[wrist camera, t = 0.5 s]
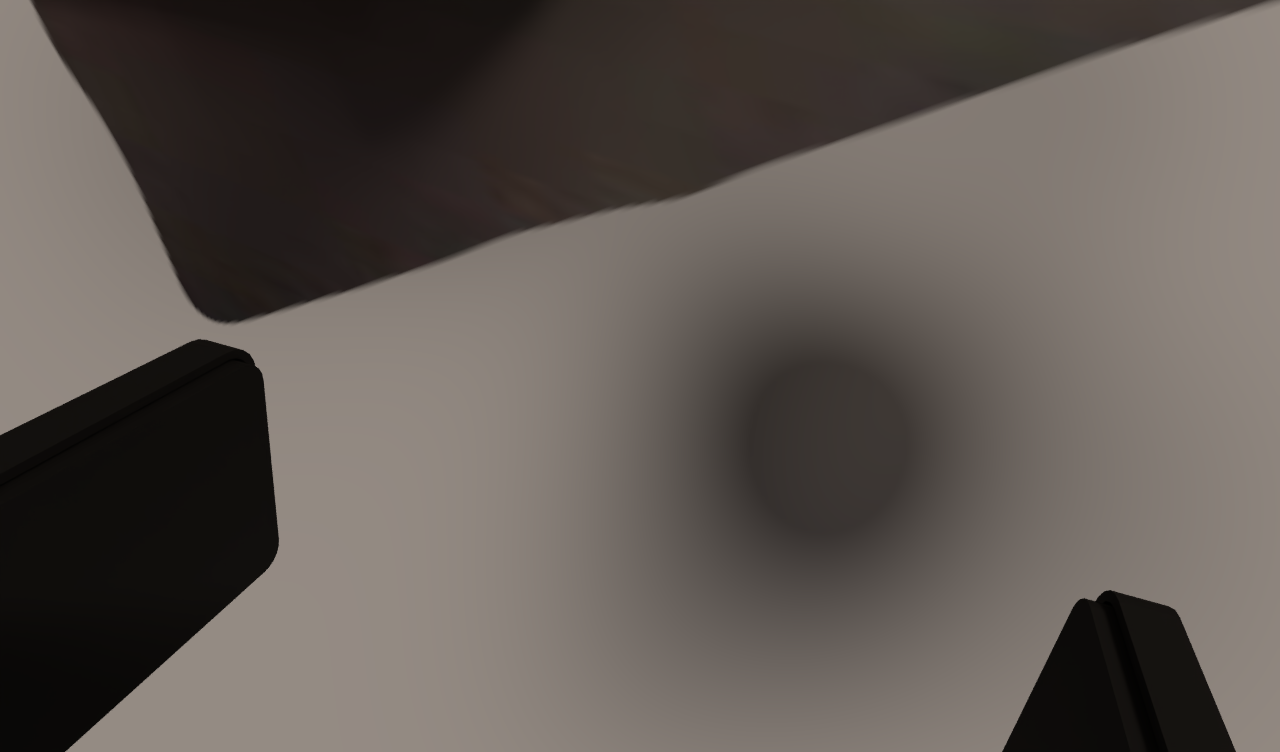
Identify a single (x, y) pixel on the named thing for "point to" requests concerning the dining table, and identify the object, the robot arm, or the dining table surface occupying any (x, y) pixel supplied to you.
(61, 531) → the robot arm
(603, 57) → the dining table surface
